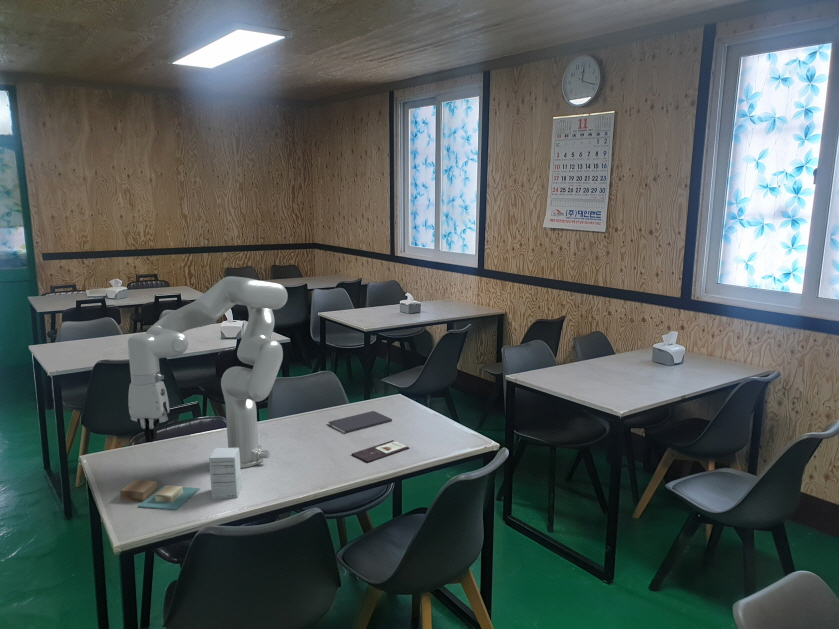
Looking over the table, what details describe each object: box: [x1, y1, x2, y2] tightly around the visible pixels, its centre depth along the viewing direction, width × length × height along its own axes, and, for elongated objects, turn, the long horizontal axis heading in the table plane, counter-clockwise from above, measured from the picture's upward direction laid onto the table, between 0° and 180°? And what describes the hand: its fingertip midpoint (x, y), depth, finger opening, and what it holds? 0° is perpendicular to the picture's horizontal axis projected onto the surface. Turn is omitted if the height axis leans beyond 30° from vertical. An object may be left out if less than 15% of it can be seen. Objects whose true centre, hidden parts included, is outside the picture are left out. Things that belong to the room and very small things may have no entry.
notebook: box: [328, 410, 393, 435], centre depth 244 cm, size 13×2×21 cm
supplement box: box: [208, 447, 243, 500], centre depth 185 cm, size 7×7×13 cm
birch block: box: [155, 484, 184, 502], centre depth 182 cm, size 5×6×2 cm
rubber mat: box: [137, 485, 201, 511], centre depth 183 cm, size 12×13×1 cm
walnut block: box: [119, 479, 158, 503], centre depth 184 cm, size 7×7×3 cm
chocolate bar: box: [351, 439, 410, 464], centre depth 216 cm, size 9×1×18 cm
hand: (151, 440), depth 181 cm, fingers closed
